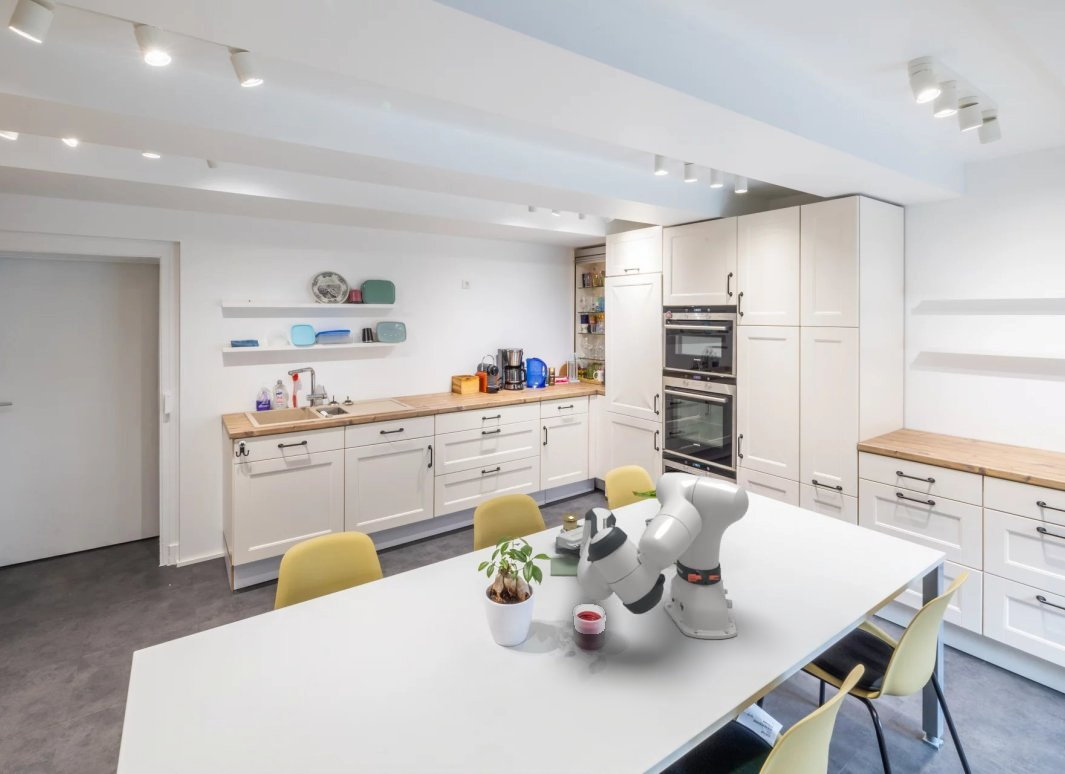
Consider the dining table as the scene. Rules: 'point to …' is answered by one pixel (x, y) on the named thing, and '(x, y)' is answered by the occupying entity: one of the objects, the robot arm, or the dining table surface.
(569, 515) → the olive metal cylinder
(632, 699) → the dining table surface
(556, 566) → the mat
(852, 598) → the dining table surface
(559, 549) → the housing
